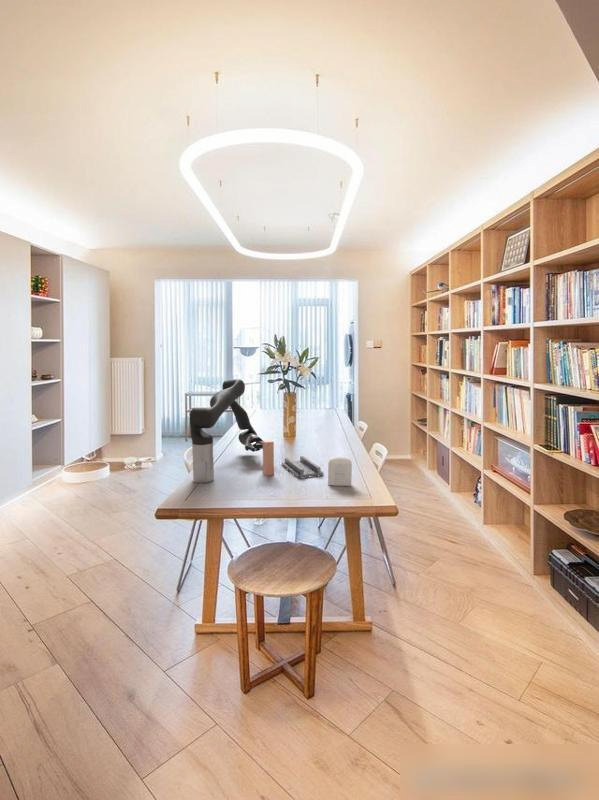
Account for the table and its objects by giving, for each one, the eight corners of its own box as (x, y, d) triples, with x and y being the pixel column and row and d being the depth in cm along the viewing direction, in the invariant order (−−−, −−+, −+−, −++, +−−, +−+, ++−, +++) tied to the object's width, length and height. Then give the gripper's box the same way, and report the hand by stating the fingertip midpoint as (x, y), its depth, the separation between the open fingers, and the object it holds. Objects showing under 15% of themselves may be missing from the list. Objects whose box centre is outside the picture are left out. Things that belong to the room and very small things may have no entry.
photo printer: (351, 483, 184) (351, 456, 183) (351, 486, 180) (351, 458, 178) (328, 483, 185) (328, 455, 184) (327, 486, 181) (327, 458, 179)
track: (323, 475, 196) (323, 467, 196) (297, 478, 192) (297, 470, 191) (305, 463, 219) (305, 455, 218) (281, 465, 214) (281, 457, 214)
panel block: (265, 475, 196) (265, 442, 195) (263, 472, 201) (262, 440, 199) (273, 474, 198) (273, 441, 196) (271, 472, 202) (270, 439, 201)
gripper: (241, 436, 221) (248, 442, 206) (267, 434, 226) (275, 440, 211) (241, 450, 222) (248, 457, 207) (267, 448, 227) (276, 455, 212)
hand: (262, 449), depth 209 cm, fingers open, 8 cm apart
